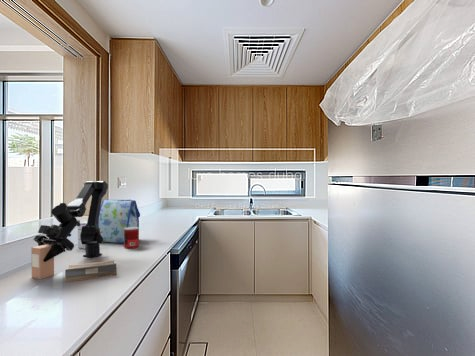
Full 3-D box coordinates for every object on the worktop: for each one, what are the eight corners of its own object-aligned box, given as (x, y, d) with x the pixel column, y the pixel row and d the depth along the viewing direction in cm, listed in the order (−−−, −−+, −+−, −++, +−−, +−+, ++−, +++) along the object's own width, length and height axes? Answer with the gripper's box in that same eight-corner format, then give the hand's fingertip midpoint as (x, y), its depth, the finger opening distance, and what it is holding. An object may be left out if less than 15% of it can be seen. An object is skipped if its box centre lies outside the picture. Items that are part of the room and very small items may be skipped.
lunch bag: (141, 238, 191) (141, 198, 191) (128, 244, 175) (127, 200, 175) (110, 237, 195) (110, 198, 195) (94, 243, 179) (94, 200, 179)
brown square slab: (69, 269, 128) (69, 258, 128) (113, 263, 136) (113, 253, 136) (65, 282, 111) (65, 270, 111) (116, 275, 119) (116, 264, 119)
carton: (54, 274, 120) (53, 245, 120) (39, 279, 115) (39, 248, 115) (45, 273, 123) (45, 244, 123) (31, 277, 117) (30, 247, 117)
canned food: (141, 245, 170) (141, 227, 170) (132, 249, 163) (132, 229, 163) (130, 245, 173) (130, 226, 173) (121, 248, 165) (121, 228, 165)
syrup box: (86, 248, 165) (86, 222, 165) (77, 248, 167) (77, 222, 167) (93, 246, 171) (93, 221, 171) (84, 245, 172) (84, 221, 172)
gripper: (37, 216, 126) (9, 247, 116) (67, 218, 119) (39, 252, 109) (55, 231, 134) (30, 262, 124) (84, 234, 126) (60, 267, 116)
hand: (39, 260), depth 118 cm, fingers closed on carton, 5 cm apart
